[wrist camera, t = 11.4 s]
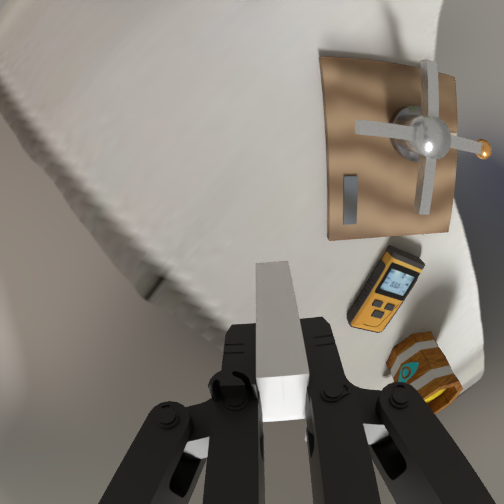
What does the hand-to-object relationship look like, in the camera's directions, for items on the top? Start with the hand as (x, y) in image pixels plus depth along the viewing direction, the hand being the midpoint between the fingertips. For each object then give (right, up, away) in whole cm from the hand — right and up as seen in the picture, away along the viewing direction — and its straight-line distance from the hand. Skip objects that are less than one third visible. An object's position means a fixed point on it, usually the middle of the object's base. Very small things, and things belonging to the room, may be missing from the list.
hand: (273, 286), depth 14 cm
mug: (+34, -24, +42) cm, 59 cm away
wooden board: (+20, +16, +21) cm, 33 cm away
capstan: (+20, +18, +19) cm, 33 cm away
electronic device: (+22, -5, +33) cm, 39 cm away
